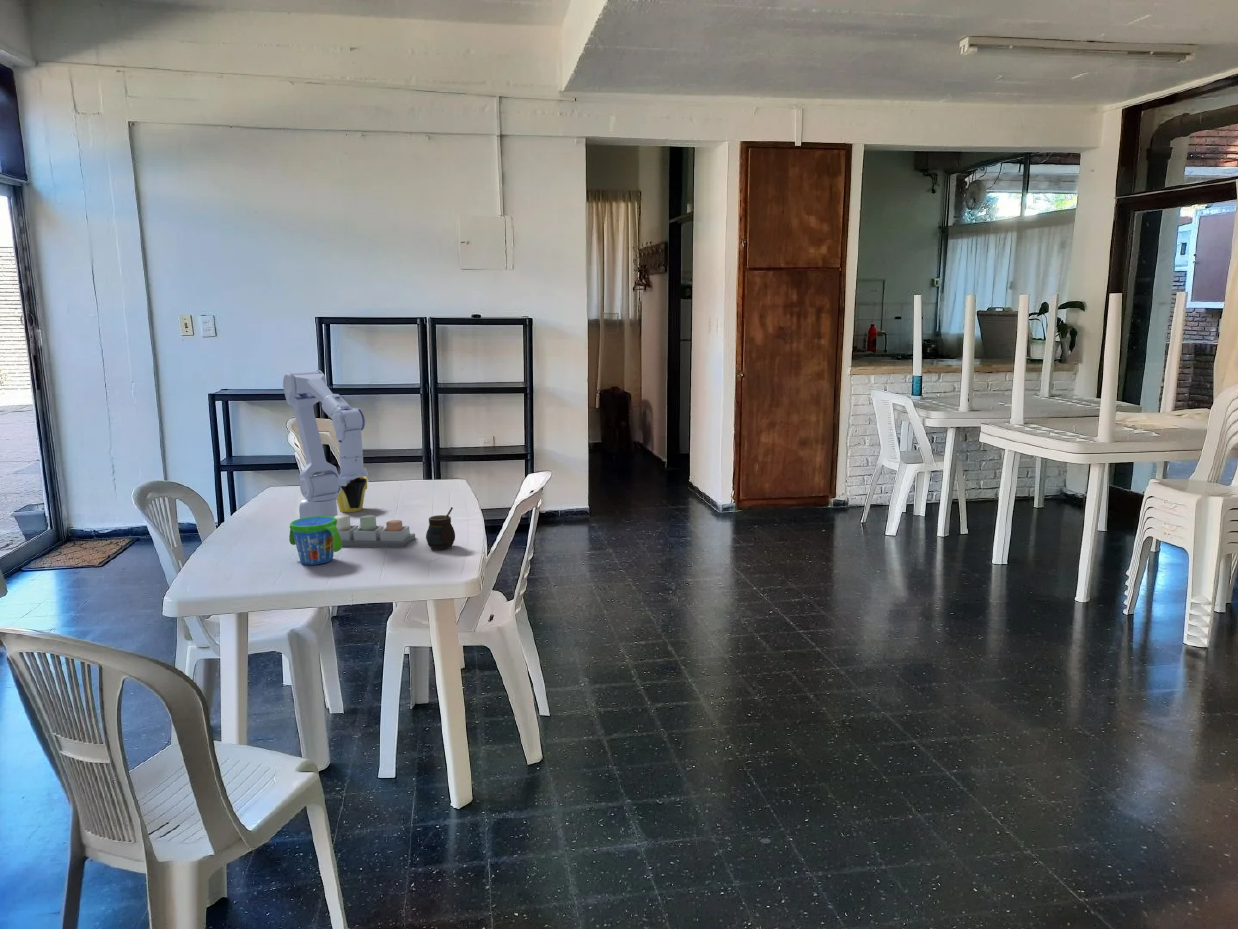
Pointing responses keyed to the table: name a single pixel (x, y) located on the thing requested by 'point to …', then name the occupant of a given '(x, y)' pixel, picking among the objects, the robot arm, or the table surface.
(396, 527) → the terracotta button
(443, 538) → the mate gourd
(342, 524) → the cream button
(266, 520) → the table surface
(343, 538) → the button panel
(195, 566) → the table surface
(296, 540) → the snack cup
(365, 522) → the sage button
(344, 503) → the plant pot
